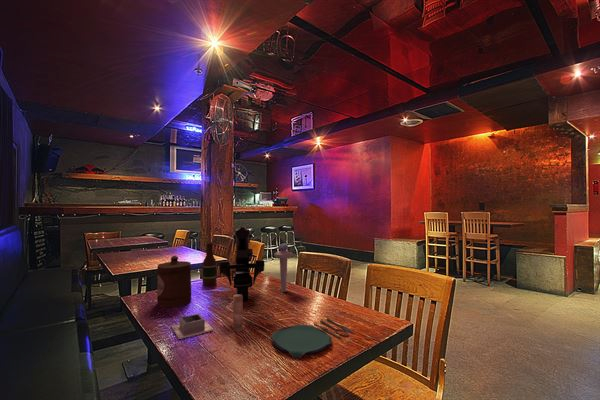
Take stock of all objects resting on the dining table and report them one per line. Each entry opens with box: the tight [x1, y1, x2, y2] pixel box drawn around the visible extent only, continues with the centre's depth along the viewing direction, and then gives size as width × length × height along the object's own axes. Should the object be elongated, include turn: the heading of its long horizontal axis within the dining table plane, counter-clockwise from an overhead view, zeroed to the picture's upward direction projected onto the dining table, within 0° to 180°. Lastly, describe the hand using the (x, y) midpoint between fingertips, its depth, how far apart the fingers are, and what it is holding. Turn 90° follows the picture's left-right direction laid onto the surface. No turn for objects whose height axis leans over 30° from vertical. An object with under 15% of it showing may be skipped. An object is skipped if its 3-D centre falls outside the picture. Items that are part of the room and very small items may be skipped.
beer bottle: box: [202, 242, 218, 287], centre depth 166 cm, size 8×8×24 cm
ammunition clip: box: [230, 258, 236, 278], centre depth 176 cm, size 11×2×12 cm, turn 47°
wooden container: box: [156, 255, 192, 308], centre depth 137 cm, size 15×15×22 cm
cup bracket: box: [171, 313, 214, 340], centre depth 108 cm, size 12×12×4 cm
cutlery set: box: [270, 317, 356, 359], centre depth 101 cm, size 20×30×2 cm, turn 127°
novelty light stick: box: [273, 243, 294, 293], centre depth 153 cm, size 10×10×25 cm
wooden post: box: [232, 293, 244, 332], centre depth 107 cm, size 4×4×12 cm
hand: (242, 284), depth 118 cm, fingers open, 9 cm apart
